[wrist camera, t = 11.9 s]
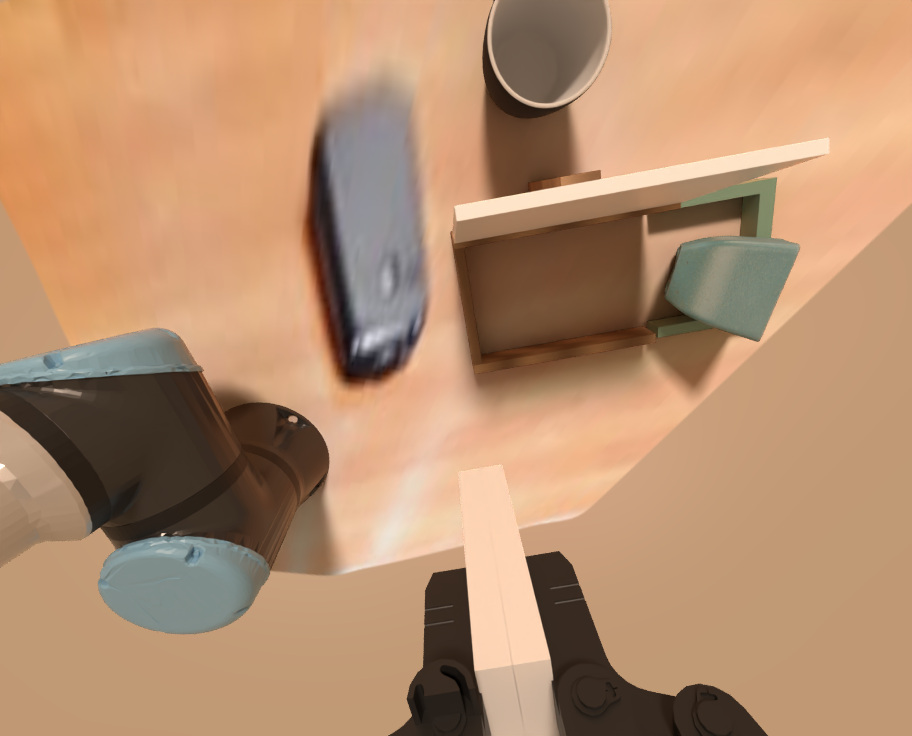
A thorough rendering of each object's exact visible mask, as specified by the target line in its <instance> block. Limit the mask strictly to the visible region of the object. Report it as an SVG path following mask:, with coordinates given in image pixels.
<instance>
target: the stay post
mask: <svg viewBox="0 0 912 736" xmlns="http://www.w3.org/2000/svg"><path fill="white" fill-rule="evenodd" d="M599 179H601V170H597V171H592V172H586V173H580V174H575V175H569V176H564V177H558V178H553V179H547V180H542V181H537V182H531V183H528V187H529V192H533V191H539V190H544V189H550V188H555V187H561V186H566V185H572V184H577V183H582V182H588V181H593V180H599Z"/></svg>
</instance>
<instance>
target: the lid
mask: <svg viewBox="0 0 912 736" xmlns="http://www.w3.org/2000/svg"><path fill="white" fill-rule="evenodd" d="M826 154H829V137H828V138H823V139H817V140H812V141H806V142H801V143H796V144H790V145H785V146H779V147H774V148H768V149H763V150H757V151H752V152H746V153H741V154H735V155H730V156H724V157H719V158H714V159H708V160H703V161H697V162H692V163H686V164H681V165H675V166H670V167H664V168H659V169H653V170H648V171H643V172H637V173H632V174H626V175H621V176H615V177H610V178H604V179H599V180H593V181H588V182H582V183H577V184H572V185H566V186H561V187H555V188H550V189H544V190H539V191H533V192H528V193H522V194H517V195H511V196H506V197H500V198H495V199H490V200H484V201H479V202H473V203H468V204H462V205H457V206H454V219H453V240H454V244H455V243H461V242H466V241H472V240H478V239H483V238H489V237H494V236H500V235H505V234H511V233H516V232H522V231H527V230H533V229H538V228H544V227H549V226H555V225H560V224H566V223H571V222H577V221H582V220H588V219H593V218H599V217H605V216H610V215H616V214H621V213H627V212H632V211H638V210H643V209H649V208H654V207H660V206H665V205H671V204H676V203H682V202H685V201H688V200H691V199H694V198H697V197H700V196H703V195H706V194H709V193H712V192H715V191H718V190H721V189H724V188H727V187H730V186H733V185H736V184H739V183H742V182H745V181H748V180H751V179H754V178H757V177H760V176H763V175H766V174H769V173H772V172H775V171H778V170H781V169H784V168H787V167H790V166H793V165H796V164H799V163H802V162H805V161H808V160H811V159H814V158H817V157H820V156H823V155H826Z"/></svg>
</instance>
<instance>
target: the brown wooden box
mask: <svg viewBox="0 0 912 736" xmlns="http://www.w3.org/2000/svg"><path fill="white" fill-rule="evenodd" d="M680 208H681V203H676V204H671V205H665V206H660V207H654V208H649V209H643V210H638V211H632V212H627V213H621V214H616V215H610V216H605V217H599V218H593V219H588V220H582V221H577V222H571V223H566V224H560V225H555V226H549V227H544V228H538V229H533V230H527V231H522V232H516V233H511V234H505V235H500V236H494V237H489V238H483V239H478V240H472V241H466V242H461V243H455V244H454V240H453V231H451V238H452V244H453V250H454V256H455V262H456V268H457V274H458V280H459V286H460V292H461V298H462V304H463V310H464V316H465V322H466V328H467V334H468V340H469V346H470V352H471V358H472V364H473V368H474V373H475V374H478V373H484V372H490V371H496V370H501V369H507V368H513V367H519V366H524V365H530V364H536V363H541V362H547V361H553V360H559V359H564V358H570V357H576V356H582V355H587V354H593V353H599V352H605V351H610V350H616V349H622V348H628V347H633V346H639V345H645V344H650V343H656V334H655V333H653V332H652V331H650V330H648V329H647V328H645V327H643V326H642V327H636V328H631V329H625V330H619V331H614V332H608V333H602V334H596V335H591V336H585V337H579V338H574V339H568V340H562V341H556V342H551V343H545V344H539V345H534V346H528V347H522V348H517V349H511V350H505V351H499V352H494V353H488V354H482V355H481V352H480V346H479V339H478V333H477V327H476V320H475V314H474V308H473V302H472V295H471V289H470V283H469V276H468V270H467V264H466V257H465V251H464V247H470V246H475V245H481V244H486V243H492V242H498V241H503V240H509V239H514V238H520V237H525V236H531V235H536V234H542V233H547V232H553V231H558V230H564V229H569V228H575V227H580V226H586V225H592V224H597V223H603V222H608V221H614V220H619V219H625V218H630V217H636V216H641V215H647V214H652V213H658V212H663V211H669V210H675V209H680Z"/></svg>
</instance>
